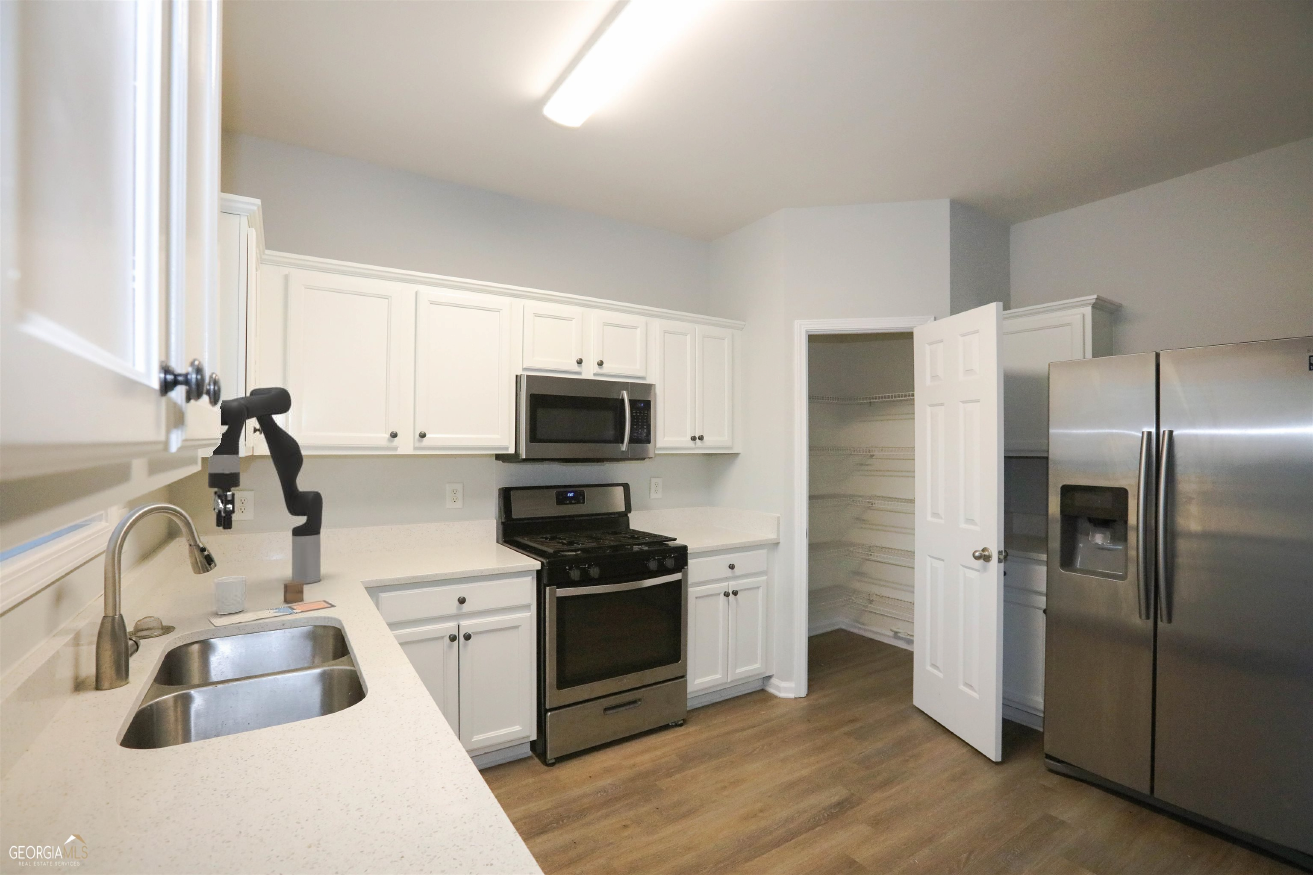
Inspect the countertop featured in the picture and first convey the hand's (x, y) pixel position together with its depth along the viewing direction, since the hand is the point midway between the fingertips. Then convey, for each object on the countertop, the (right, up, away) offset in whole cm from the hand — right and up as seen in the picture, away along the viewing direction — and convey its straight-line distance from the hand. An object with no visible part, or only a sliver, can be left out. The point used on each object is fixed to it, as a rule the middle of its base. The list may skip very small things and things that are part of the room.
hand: (223, 528), depth 179 cm
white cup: (-5, -27, +10) cm, 29 cm away
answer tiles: (+9, -27, +9) cm, 29 cm away
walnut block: (+7, -27, +22) cm, 35 cm away
